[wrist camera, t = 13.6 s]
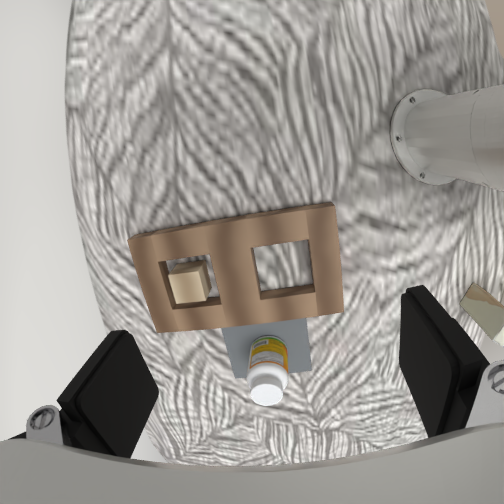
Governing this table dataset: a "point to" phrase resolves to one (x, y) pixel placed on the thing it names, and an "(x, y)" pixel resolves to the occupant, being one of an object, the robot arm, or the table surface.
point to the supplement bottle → (267, 370)
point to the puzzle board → (241, 269)
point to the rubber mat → (287, 331)
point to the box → (485, 312)
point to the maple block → (190, 282)
